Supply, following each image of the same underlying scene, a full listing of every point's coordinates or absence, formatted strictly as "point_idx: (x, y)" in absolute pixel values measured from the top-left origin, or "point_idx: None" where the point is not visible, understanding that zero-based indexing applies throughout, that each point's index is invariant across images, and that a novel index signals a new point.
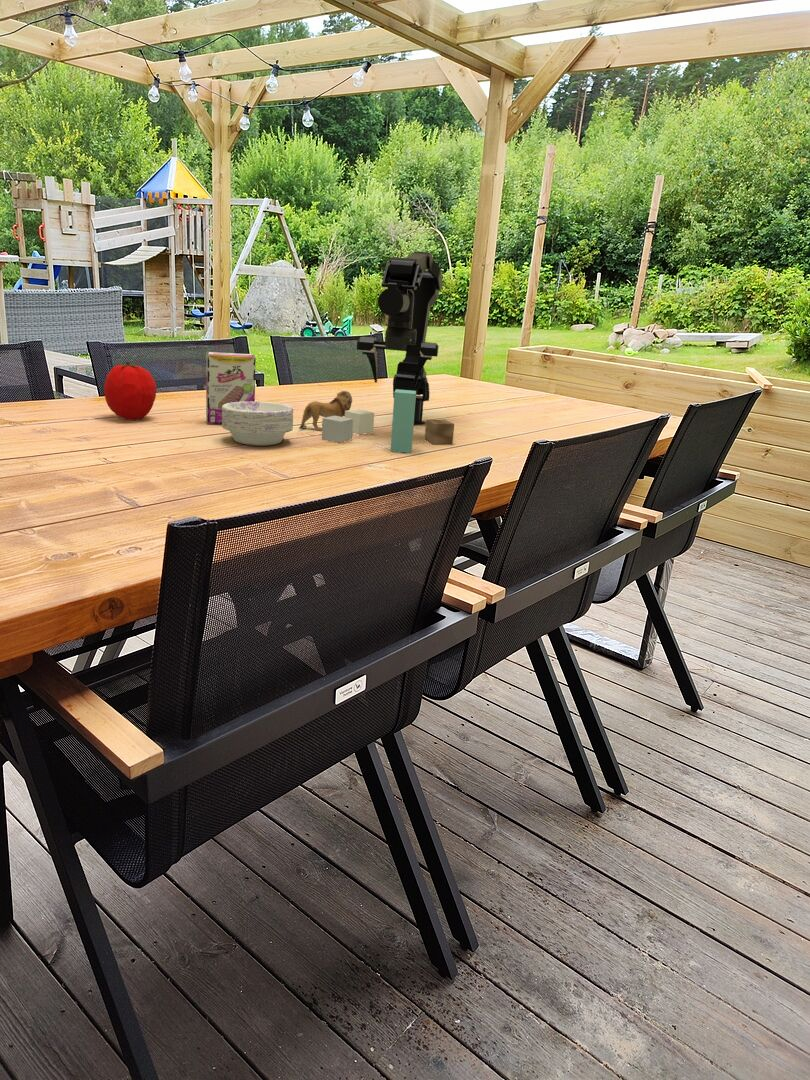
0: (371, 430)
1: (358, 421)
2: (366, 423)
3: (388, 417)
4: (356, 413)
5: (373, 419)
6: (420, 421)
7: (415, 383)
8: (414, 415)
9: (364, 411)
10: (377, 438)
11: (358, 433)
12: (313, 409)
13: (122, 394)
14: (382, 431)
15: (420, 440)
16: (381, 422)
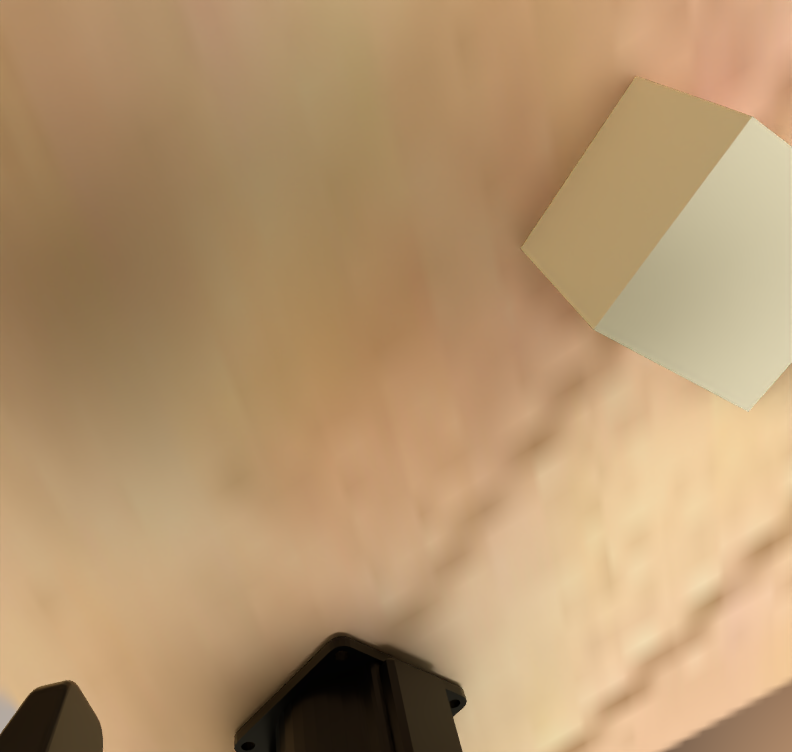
0: (541, 238)
1: (709, 102)
2: (615, 194)
3: (506, 745)
4: (785, 149)
5: (568, 292)
6: (269, 735)
7: (17, 726)
8: (305, 738)
9: (699, 324)
10: (433, 7)
11: (640, 80)
12: None
13: None
14: (456, 346)
15: (11, 175)
16: (522, 611)
